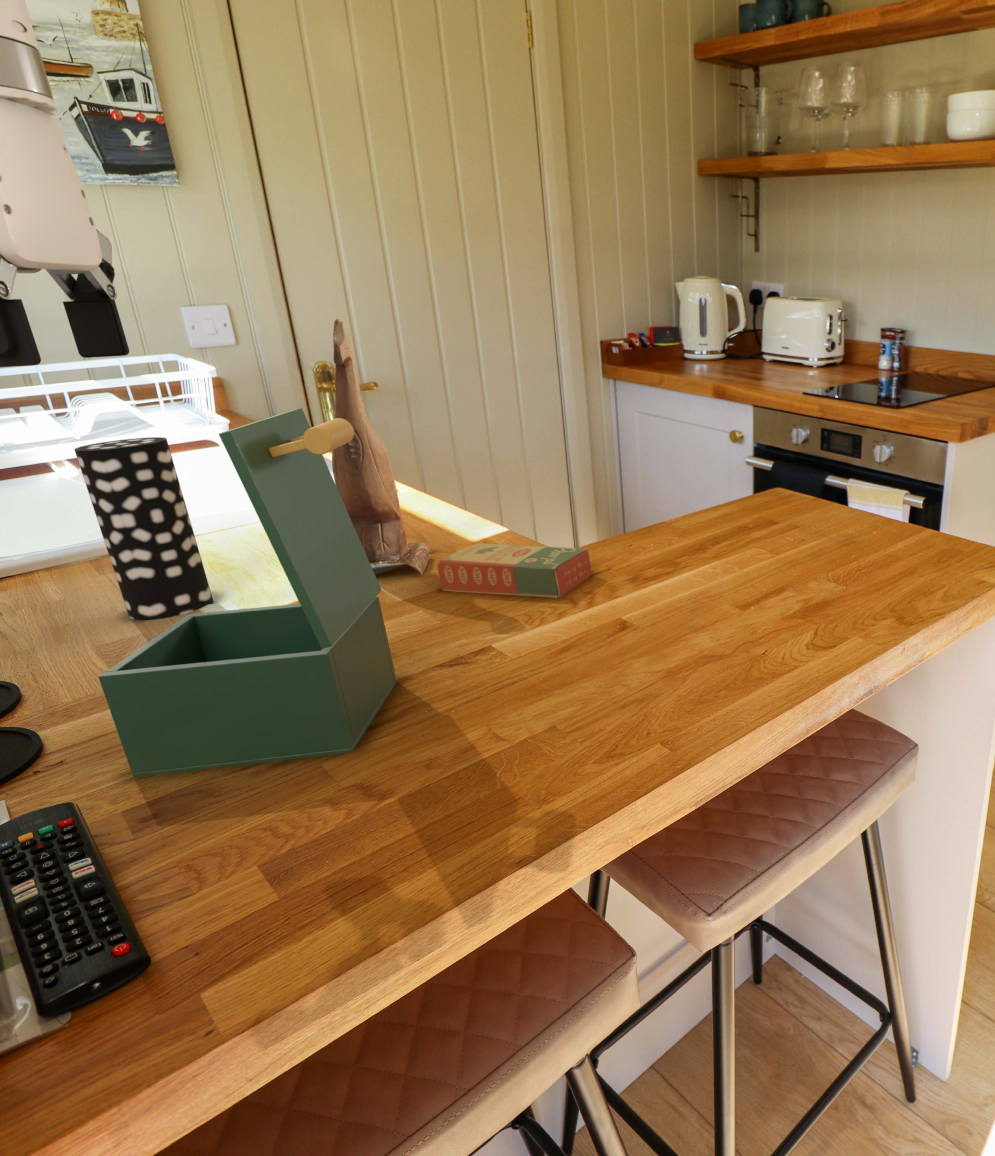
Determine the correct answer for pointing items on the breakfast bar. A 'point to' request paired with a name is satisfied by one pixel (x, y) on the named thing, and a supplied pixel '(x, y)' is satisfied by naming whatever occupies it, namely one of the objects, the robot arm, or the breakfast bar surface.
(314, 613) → the chest lid
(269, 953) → the breakfast bar surface
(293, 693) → the chest
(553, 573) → the carton
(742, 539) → the breakfast bar surface
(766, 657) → the breakfast bar surface
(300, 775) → the breakfast bar surface
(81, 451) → the white-spotted black cylinder
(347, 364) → the bird sculpture
